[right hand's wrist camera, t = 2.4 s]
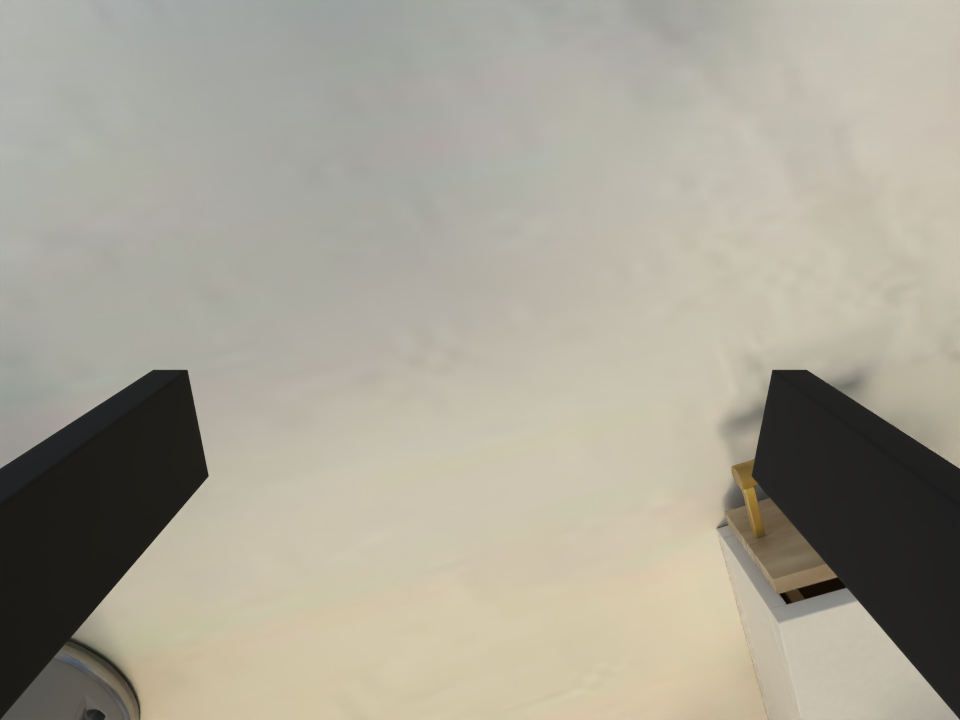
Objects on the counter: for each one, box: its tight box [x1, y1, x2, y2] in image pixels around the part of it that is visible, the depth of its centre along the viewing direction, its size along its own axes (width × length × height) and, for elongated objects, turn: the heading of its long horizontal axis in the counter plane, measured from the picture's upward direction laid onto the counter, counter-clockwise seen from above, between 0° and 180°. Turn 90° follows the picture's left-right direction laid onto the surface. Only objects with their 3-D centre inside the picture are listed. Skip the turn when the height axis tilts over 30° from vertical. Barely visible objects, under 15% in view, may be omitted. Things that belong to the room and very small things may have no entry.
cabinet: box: [717, 525, 959, 720], centre depth 38 cm, size 20×11×9 cm, turn 21°
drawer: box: [725, 459, 847, 605], centre depth 36 cm, size 24×10×6 cm, turn 21°
